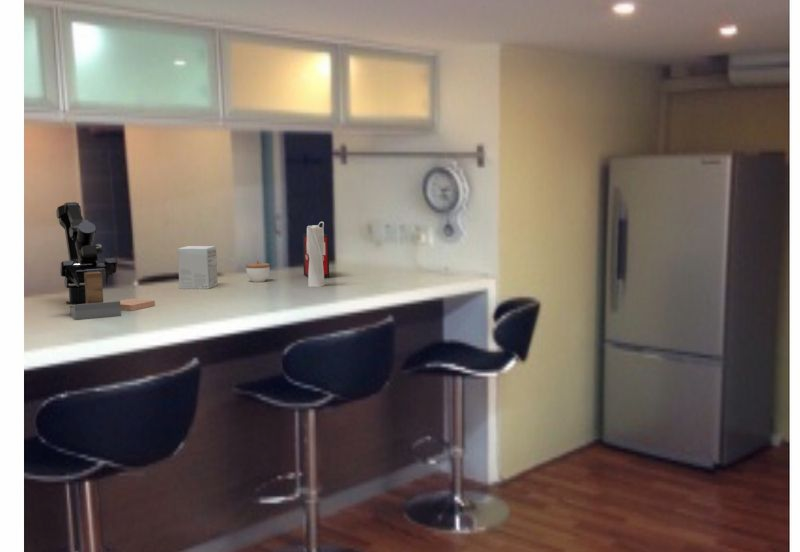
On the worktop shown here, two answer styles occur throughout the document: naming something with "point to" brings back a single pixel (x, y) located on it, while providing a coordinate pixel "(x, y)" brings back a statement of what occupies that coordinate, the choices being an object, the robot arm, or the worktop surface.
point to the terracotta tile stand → (135, 304)
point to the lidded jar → (258, 271)
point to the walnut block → (93, 287)
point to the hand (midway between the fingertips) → (92, 285)
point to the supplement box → (197, 267)
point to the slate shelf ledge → (95, 310)
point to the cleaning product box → (324, 257)
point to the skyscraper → (315, 255)
